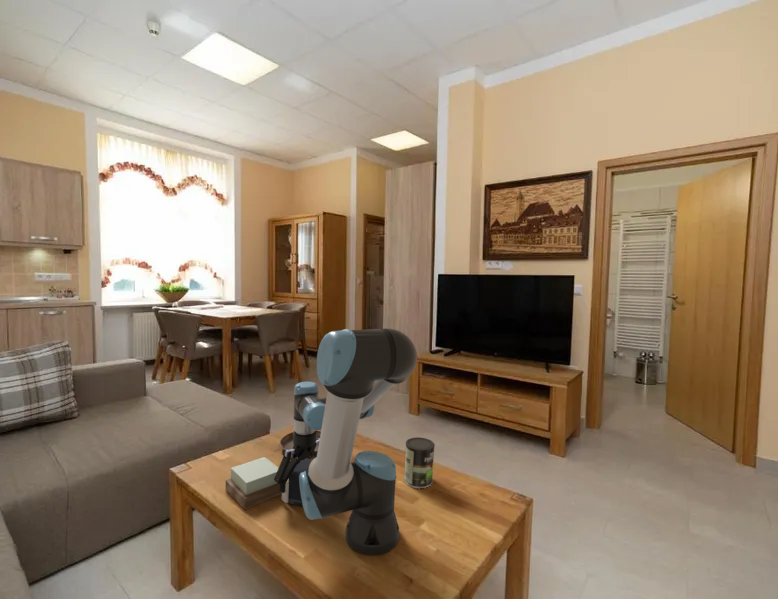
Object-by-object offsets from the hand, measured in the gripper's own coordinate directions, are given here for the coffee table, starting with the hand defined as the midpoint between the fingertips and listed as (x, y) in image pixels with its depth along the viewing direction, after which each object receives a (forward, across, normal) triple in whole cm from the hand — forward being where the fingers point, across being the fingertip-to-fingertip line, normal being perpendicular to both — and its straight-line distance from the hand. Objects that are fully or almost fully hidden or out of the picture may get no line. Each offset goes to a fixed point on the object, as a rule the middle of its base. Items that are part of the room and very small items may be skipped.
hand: (303, 492), depth 128 cm
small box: (+2, 0, 0) cm, 2 cm away
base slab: (+2, +10, -13) cm, 17 cm away
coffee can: (+2, -36, +19) cm, 41 cm away
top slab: (-2, +10, -13) cm, 17 cm away
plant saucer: (+2, -20, -29) cm, 35 cm away
